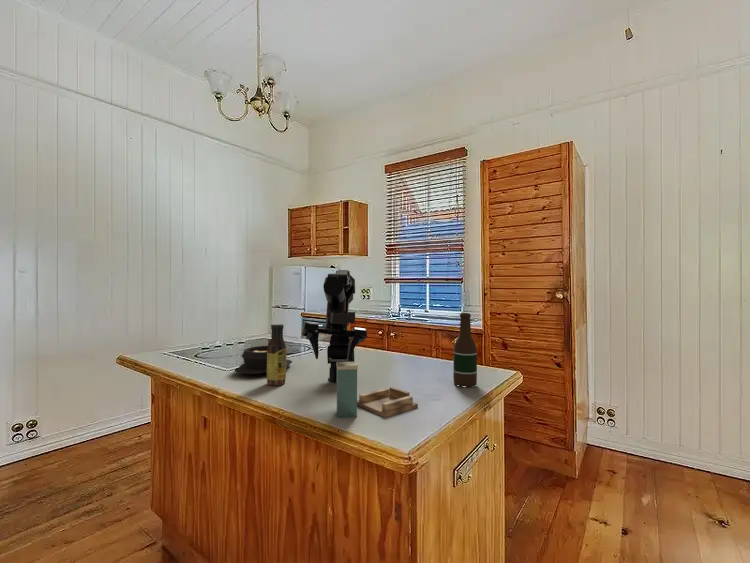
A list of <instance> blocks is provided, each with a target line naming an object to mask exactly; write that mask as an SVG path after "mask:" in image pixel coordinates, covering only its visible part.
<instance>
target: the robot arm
mask: <svg viewBox="0 0 750 563" xmlns="http://www.w3.org/2000/svg"><path fill="white" fill-rule="evenodd" d="M323 292H324V295H325V296H324V297H325V300H326V301H327V302H326V312H325V313H326V314H325V317H326V318H325V327H324V326H319V322H314V321H305V322H304V324H303V327H302V330H301V336H302V337H305V339H306V340H309V342H310V345H311V348H312V350H313V355H314V357H315V360H318V359H319V335H320V334H321V335H322V334H323V335H328V336H330V339H329V345H327V347H326V348H327V349H326V351H327V352H326V355H327V356H326V357H327V358H326V359H327V364H328V365H330V367H329V373H328V374H329V376H328V378H327V380H329V381H330V382H333V383H336V384H337V365H336V362H355V348H356V346H357V345H359V344H360V343H363V342H364V341H365V340H366V338H368V331H367V329H366V328H362V327H353V328H352V330H349V329H348V326H349V324H354V323H355V322H356V312H354V311H353V312H352V311H349V308H350V306H349V305H350V304H351V303H352V301H353V300H354V295H355V294H356V279H355V278H354V277H353V276H352V275H351V271H350V270H348V269H338V270H336V271H335V273H327V276H326V277H325V279H324V282H323Z"/></svg>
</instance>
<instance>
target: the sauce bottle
mask: <svg viewBox="0 0 750 563" xmlns="http://www.w3.org/2000/svg"><path fill="white" fill-rule="evenodd" d="M270 328H271V336H270V337H271V338H270V340H269V342H268V343H267V346H268V352H267V374H266V384H267V385H268V386H281V385H284V384H285V383H286V378H287V368H286V359H287V355H286V352H287V345H286V342H285V340H284V324H282V323H273V324H271V325H270Z"/></svg>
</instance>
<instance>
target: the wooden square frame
mask: <svg viewBox="0 0 750 563" xmlns="http://www.w3.org/2000/svg"><path fill="white" fill-rule="evenodd" d="M410 393H411V392H410V391H407V390H404V389H400V388H397V387H395V386H394V387H393V386H391V387H389V388H386V387H384V388H380V389H378V390H373V391H368V392H364V393H361V394H359V395H358V396H359V397H358V399H357V407H359V408H361V409H364V410H366V411H369V412H371V413H373V414H376V415H379V416H382V417H383V418H386V419H387V418H388V417H391V416H395V415H399V414H400V413H402V414H403V413H404V412H408V411H411V410H414V409H417V408H419V403H416V402H414V400H413V399H414V398H413V396H411V395H410Z"/></svg>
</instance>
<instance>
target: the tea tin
mask: <svg viewBox="0 0 750 563" xmlns="http://www.w3.org/2000/svg"><path fill="white" fill-rule="evenodd" d="M336 365H337V383H336V417H337V419H339V418H357V417H358V406H357V400H358V369H359V367H358V363H357V361H354V362H336Z"/></svg>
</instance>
